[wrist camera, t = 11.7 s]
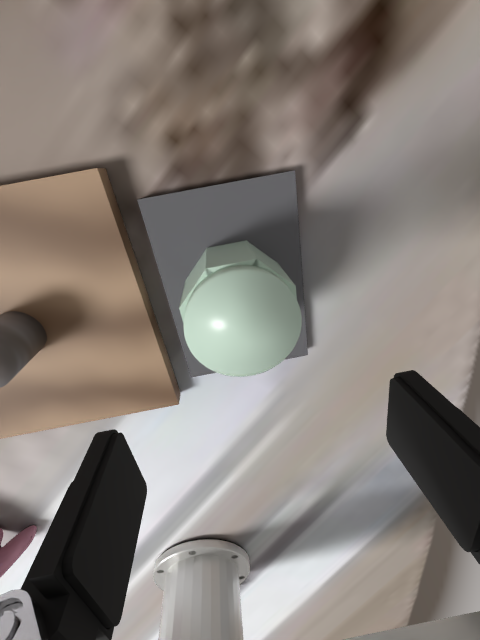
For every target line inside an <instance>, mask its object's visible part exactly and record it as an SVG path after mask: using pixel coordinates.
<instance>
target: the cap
mask: <svg viewBox="0 0 480 640" xmlns="http://www.w3.org/2000/svg"><path fill="white" fill-rule="evenodd" d="M179 309H180V313H181V316H182V320H183V323H184V336H185V340H186V343H187V345H188V347H189V349H190V351H191V353H192V354H193V355H194V357H195V358H196V359H197V360H198V361H199V362H200V363H201V364H203V365H204V366H205V367H207V368H209V369H210V370H212V371H215V372H217V373H220V374H223V375H228V376H236V377H244V376H252V375H256V374H260V373H263V372H265V371H268V370H270V369H272V368H273V367H275V366H276V365H278V364H279V363H281V362H282V361H283V360H284V359H285V358H286V357H287V356H288V355H289V354H290V353H291V351H292V350H293V348H294V347H295V345H296V343H297V341H298V339H299V336H300V332H301V326H302V316H301V310H300V307H299V304H298V302H297V296H296V286H295V284H294V283H293V282H292V280H291V279H290V278H289V277H288V275H287V274H286V273H285V272H284V270H283V269H282V268H281V266H280V265H279V264H278V263H277V262H276V261H274V260H273V259H271V258H270V257H269V256H267V255H266V254H264V253H263V252H262V251H260V250H259V249H258V248H256V247H255V246H253V245H252V244H251V243H249V242H248V241H247V240H246V241H241V242H235V243H230V244H225V245H219V246H214V247H209V248H206V250H205V252H204V253H203V255H202V256H201V258H200V259H199V261H198V262H197V264H196V265H195V267H194V268H193V270H192V271H191V273H190V274H189V276H188V277H187V279H186V281H185V285H184V289H183V293H182V297H181V302H180V306H179Z"/></svg>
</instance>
